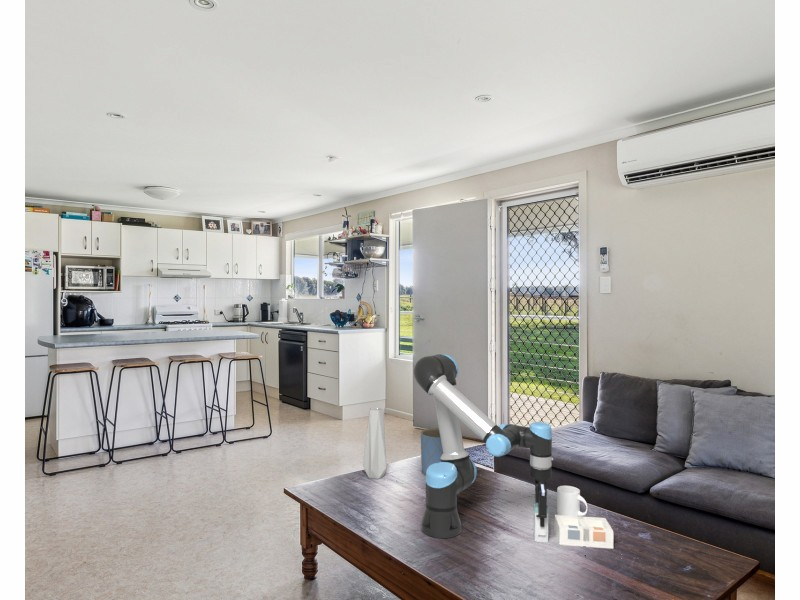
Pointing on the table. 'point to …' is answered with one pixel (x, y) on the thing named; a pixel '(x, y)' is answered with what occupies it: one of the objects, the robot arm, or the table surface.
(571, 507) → the mug
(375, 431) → the vase
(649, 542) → the table surface
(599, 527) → the socket box
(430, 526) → the robot arm
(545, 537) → the plug
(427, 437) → the planter
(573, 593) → the table surface
